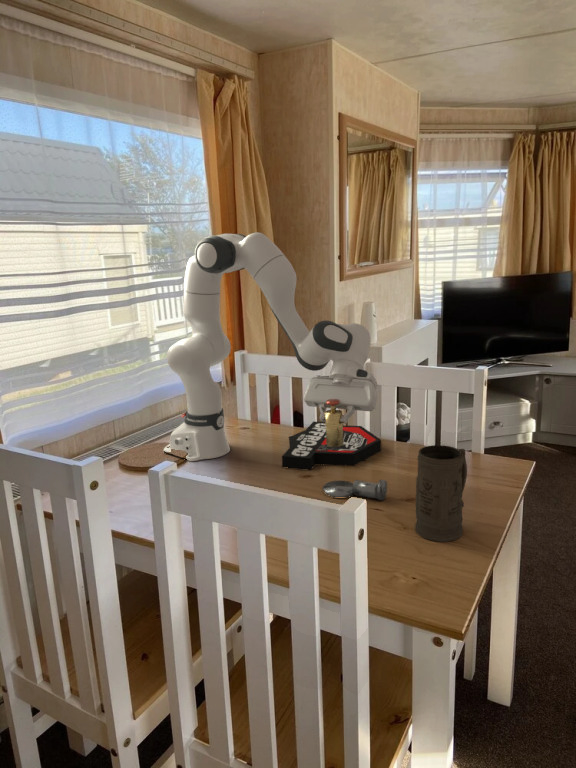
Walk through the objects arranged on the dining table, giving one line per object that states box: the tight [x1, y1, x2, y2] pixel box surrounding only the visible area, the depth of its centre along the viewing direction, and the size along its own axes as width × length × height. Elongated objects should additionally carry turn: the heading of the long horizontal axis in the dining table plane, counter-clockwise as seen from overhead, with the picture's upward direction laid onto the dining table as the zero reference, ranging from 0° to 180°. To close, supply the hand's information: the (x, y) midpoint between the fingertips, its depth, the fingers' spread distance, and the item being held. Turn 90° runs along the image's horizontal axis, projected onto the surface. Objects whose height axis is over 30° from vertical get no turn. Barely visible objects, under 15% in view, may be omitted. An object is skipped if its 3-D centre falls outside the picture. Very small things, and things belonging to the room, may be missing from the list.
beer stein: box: [414, 444, 468, 543], centre depth 133 cm, size 15×11×20 cm
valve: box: [324, 399, 344, 447], centre depth 154 cm, size 5×5×12 cm
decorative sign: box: [281, 421, 382, 471], centre depth 186 cm, size 34×4×30 cm
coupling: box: [322, 479, 388, 501], centre depth 154 cm, size 17×9×5 cm, turn 61°
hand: (332, 421), depth 153 cm, fingers closed on valve, 5 cm apart
